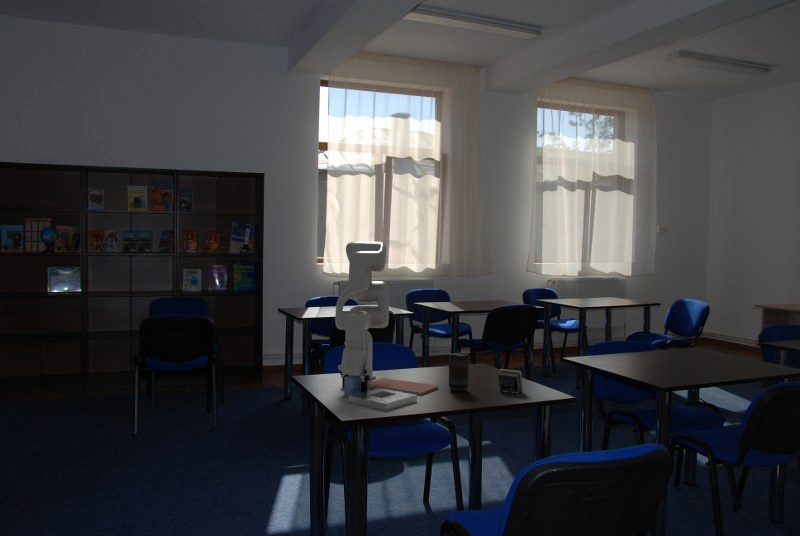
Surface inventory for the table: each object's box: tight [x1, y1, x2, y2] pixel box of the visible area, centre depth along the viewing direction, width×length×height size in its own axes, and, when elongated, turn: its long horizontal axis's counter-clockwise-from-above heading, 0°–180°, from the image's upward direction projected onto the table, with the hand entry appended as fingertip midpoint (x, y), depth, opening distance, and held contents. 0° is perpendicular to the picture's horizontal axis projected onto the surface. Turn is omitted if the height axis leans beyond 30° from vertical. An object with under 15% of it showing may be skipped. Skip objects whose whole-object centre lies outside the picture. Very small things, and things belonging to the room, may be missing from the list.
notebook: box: [367, 377, 440, 397], centre depth 261 cm, size 27×17×2 cm, turn 60°
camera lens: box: [448, 352, 470, 394], centre depth 257 cm, size 8×8×15 cm
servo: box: [340, 376, 369, 397], centre depth 247 cm, size 11×4×8 cm, turn 141°
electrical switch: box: [498, 368, 524, 394], centre depth 256 cm, size 9×5×9 cm, turn 59°
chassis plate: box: [347, 388, 418, 412], centre depth 237 cm, size 18×18×2 cm
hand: (354, 389), depth 247 cm, fingers open, 9 cm apart
